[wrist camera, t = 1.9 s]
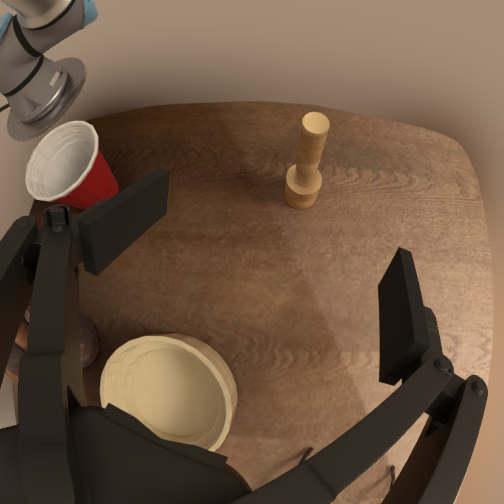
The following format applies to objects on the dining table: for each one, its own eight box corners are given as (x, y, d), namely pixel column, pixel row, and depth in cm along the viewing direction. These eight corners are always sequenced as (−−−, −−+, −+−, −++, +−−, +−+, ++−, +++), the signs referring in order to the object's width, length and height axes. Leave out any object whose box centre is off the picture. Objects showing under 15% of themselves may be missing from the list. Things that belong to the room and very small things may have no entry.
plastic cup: (150, 187, 40) (111, 144, 28) (98, 244, 39) (44, 220, 27) (110, 147, 42) (71, 104, 30) (64, 198, 41) (15, 168, 29)
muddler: (279, 201, 38) (283, 131, 23) (292, 175, 39) (302, 97, 23) (308, 214, 38) (331, 150, 22) (320, 188, 38) (346, 115, 23)
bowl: (108, 406, 34) (85, 417, 29) (149, 311, 37) (128, 310, 31) (206, 464, 32) (196, 485, 26) (259, 369, 35) (256, 379, 29)
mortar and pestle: (38, 321, 37) (-66, 314, 18) (67, 280, 38) (-41, 254, 19) (82, 381, 35) (-25, 408, 16) (114, 341, 36) (2, 353, 17)
